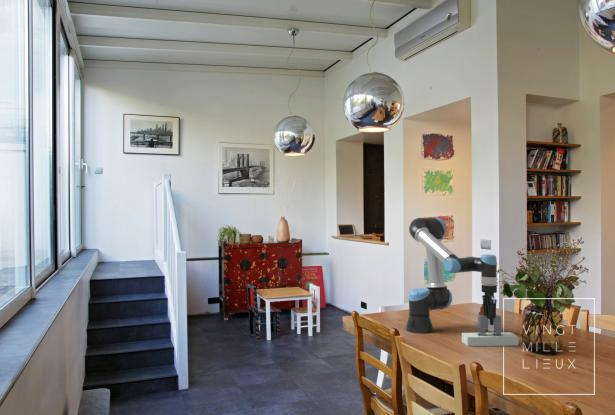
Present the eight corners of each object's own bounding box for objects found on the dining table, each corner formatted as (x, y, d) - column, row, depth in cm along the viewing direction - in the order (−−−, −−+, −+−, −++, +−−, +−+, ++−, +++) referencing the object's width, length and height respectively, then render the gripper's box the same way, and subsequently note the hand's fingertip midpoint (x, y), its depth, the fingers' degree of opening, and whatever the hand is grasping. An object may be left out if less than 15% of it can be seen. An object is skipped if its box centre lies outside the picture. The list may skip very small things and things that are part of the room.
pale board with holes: (467, 346, 252) (467, 337, 252) (461, 341, 261) (461, 332, 261) (518, 345, 253) (518, 336, 253) (510, 340, 262) (510, 332, 262)
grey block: (480, 339, 255) (480, 316, 255) (478, 338, 259) (478, 315, 259) (501, 339, 256) (500, 316, 256) (498, 337, 259) (498, 314, 259)
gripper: (502, 287, 249) (503, 333, 249) (490, 282, 265) (490, 326, 265) (488, 287, 249) (488, 334, 249) (476, 282, 265) (476, 326, 265)
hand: (489, 330), depth 257 cm, fingers closed on grey block, 3 cm apart
